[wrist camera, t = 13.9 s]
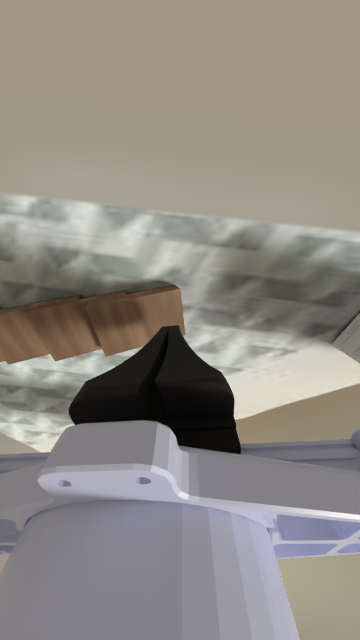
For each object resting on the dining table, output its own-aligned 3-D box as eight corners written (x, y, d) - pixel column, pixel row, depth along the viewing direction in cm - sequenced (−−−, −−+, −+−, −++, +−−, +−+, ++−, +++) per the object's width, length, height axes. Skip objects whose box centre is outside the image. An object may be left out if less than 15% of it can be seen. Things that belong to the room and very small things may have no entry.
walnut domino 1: (76, 299, 15) (-28, 319, 13) (95, 342, 17) (8, 364, 16) (80, 294, 17) (-14, 312, 15) (97, 335, 19) (17, 354, 17)
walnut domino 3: (180, 288, 15) (85, 307, 13) (185, 334, 17) (105, 356, 15) (175, 284, 16) (89, 301, 14) (180, 327, 18) (107, 347, 16)
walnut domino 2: (126, 294, 15) (26, 314, 13) (138, 338, 17) (55, 361, 15) (125, 290, 16) (35, 307, 14) (137, 331, 19) (60, 351, 17)
